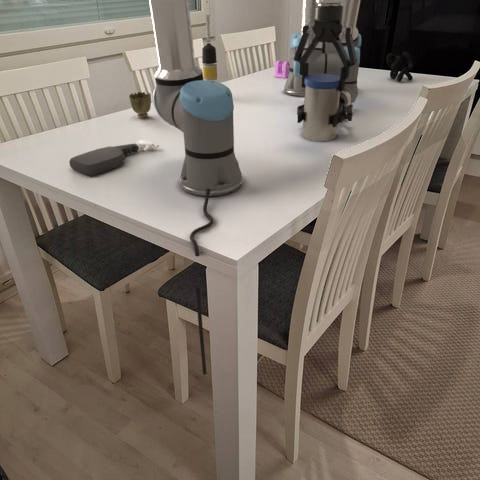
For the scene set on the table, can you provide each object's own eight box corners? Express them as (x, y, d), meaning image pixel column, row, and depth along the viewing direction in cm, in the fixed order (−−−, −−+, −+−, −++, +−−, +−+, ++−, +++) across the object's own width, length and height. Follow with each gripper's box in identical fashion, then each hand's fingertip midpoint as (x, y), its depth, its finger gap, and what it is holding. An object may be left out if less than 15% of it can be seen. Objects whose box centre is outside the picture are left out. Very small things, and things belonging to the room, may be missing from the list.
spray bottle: (67, 168, 120) (139, 144, 136) (91, 178, 114) (163, 151, 130) (65, 157, 118) (137, 134, 134) (89, 167, 112) (162, 142, 128)
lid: (296, 84, 131) (296, 77, 130) (320, 78, 137) (321, 72, 136) (325, 90, 124) (326, 83, 123) (349, 84, 130) (350, 77, 129)
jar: (295, 135, 140) (298, 79, 131) (317, 128, 145) (321, 74, 136) (320, 143, 133) (325, 85, 124) (342, 136, 139) (348, 79, 130)
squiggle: (400, 92, 202) (376, 71, 205) (417, 76, 202) (392, 56, 205) (405, 81, 191) (380, 59, 194) (423, 64, 191) (397, 42, 194)
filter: (220, 99, 177) (217, 15, 161) (206, 100, 176) (202, 16, 160) (215, 96, 182) (212, 14, 166) (202, 97, 180) (197, 14, 164)
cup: (127, 118, 157) (124, 95, 153) (141, 113, 163) (138, 90, 159) (144, 121, 154) (141, 97, 150) (157, 115, 160) (154, 92, 156)
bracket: (285, 77, 208) (285, 62, 204) (275, 76, 211) (275, 60, 207) (299, 72, 216) (300, 57, 213) (289, 71, 219) (290, 56, 216)
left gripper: (283, 4, 122) (281, 87, 134) (368, 6, 112) (357, 95, 124) (294, 2, 127) (291, 82, 139) (376, 4, 118) (365, 89, 129)
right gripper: (369, 117, 147) (352, 137, 130) (304, 109, 156) (280, 128, 139) (372, 94, 143) (355, 112, 126) (305, 87, 152) (280, 103, 135)
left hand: (322, 88), depth 131 cm, fingers closed on lid, 11 cm apart
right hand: (316, 120), depth 133 cm, fingers closed on jar, 10 cm apart
